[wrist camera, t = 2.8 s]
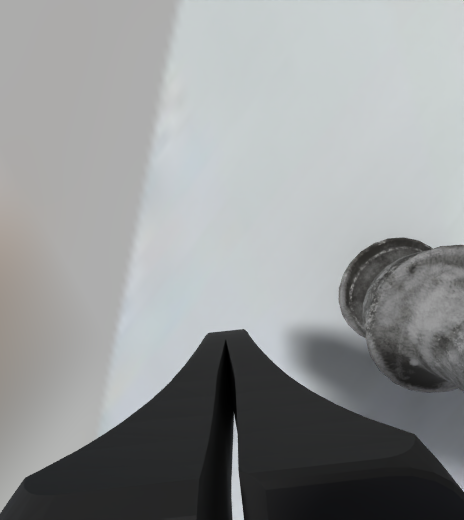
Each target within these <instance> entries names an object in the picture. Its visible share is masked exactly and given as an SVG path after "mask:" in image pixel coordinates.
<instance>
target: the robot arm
mask: <svg viewBox="0 0 464 520" xmlns="http://www.w3.org/2000/svg"><path fill="white" fill-rule="evenodd" d="M234 415H235V421H236V427H237V432H238V464H239V478H240V487H241V495H242V504H243V513H244V520H464V492H463V491H462V489H461V488H460V487H459V485H458V484H457V483H456V482H455V480H454V479H453V478H452V477H451V475H450V474H449V473H448V471H447V470H446V469H445V468H444V467H443V465H442V464H441V463H440V462H439V461H438V459H437V458H436V457H435V456H434V455H433V454H432V453H431V452H430V451H429V450H428V449H427V447H426V446H425V445H424V444H423V443H422V442H421V441H420V440H419V439H418V438H417V436H416V435H415V434H412V433H409V432H406V431H403V430H400V429H397V428H394V427H391V426H389V425H386V424H383V423H380V422H377V421H374V420H371V419H368V418H366V417H363V416H361V415H359V414H356V413H354V412H352V411H349V410H347V409H345V408H343V407H341V406H338V405H336V404H334V403H332V402H330V401H328V400H326V399H325V398H323V397H321V396H319V395H318V394H316V393H314V392H312V391H310V390H309V389H307V388H306V387H304V386H302V385H301V384H299V383H298V382H297V381H295V380H294V379H292V378H291V377H290V376H288V375H287V374H286V373H285V372H283V371H282V370H281V369H280V368H279V367H278V366H277V365H275V364H274V363H273V362H272V361H271V360H270V359H269V358H268V357H267V356H266V355H265V354H264V353H263V352H262V350H261V349H260V348H259V347H258V346H257V345H256V344H255V342H254V341H253V340H252V338H251V337H250V336H249V334H248V332H247V331H245V330H244V329H242V330H232V331H223V332H213V333H208V334H207V335H206V336H205V338H204V339H203V341H202V342H201V344H200V345H199V347H198V348H197V350H196V351H195V352H194V354H193V355H192V356H191V358H190V359H189V360H188V362H187V363H186V364H185V366H184V367H183V368H182V369H181V370H180V371H179V373H178V374H177V375H176V376H175V377H174V378H173V379H172V381H171V382H170V383H169V384H168V385H167V386H166V387H165V388H164V389H163V390H161V391H160V392H159V393H158V394H157V395H156V396H155V397H154V398H153V399H151V400H150V401H149V402H148V403H147V404H145V405H144V406H143V407H141V408H140V409H139V410H138V411H136V412H135V413H134V414H132V415H131V416H130V417H128V418H127V419H126V420H124V421H123V422H122V423H120V424H119V425H117V426H116V427H114V428H113V429H111V430H110V431H108V432H107V433H105V434H104V435H102V436H101V437H99V438H97V439H96V440H94V441H92V442H91V443H89V444H88V445H86V446H84V447H82V448H81V449H79V450H78V451H76V452H74V453H72V454H70V455H68V456H66V457H64V458H62V459H60V460H59V461H57V462H55V463H53V464H51V465H49V466H47V467H45V468H44V469H42V470H40V471H38V472H36V473H34V474H32V475H30V476H28V477H26V478H25V479H24V480H23V482H22V483H21V485H20V486H19V487H18V489H17V490H16V491H15V493H14V494H13V496H12V497H11V499H10V500H9V501H8V503H7V505H6V506H5V507H4V509H3V510H2V512H1V513H0V520H232V503H231V475H232V449H233V423H234Z"/></svg>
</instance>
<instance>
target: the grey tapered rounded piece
mask: <svg viewBox="0 0 464 520" xmlns="http://www.w3.org/2000/svg"><path fill="white" fill-rule="evenodd" d="M339 305H340V308H341V312H342V315H343V317H344V318H345V320H346V322H347V323H348V325H349V326H350V327H351V328H352V329H353V330H354V331H356V332H357V333H358V334H359V335H361V336H363V337H365V338H366V341H367V345H368V349H369V353H370V356H371V357H372V359H373V361H374V362H375V364H376V365H377V367H378V369H379V370H380V371H381V372H382V373H383V374H384V375H385V376H387V377H388V378H389V379H390V380H391V381H392V382H394V383H396V384H398V385H400V386H402V387H405V388H407V389H409V390H414V391H420V392H426V393H432V392H445V391H451V390H454V389H458V388H459V389H460V390H462V391H463V392H464V245H453V246H440V247H437V248H434V249H432V248H431V247H430V246H428V245H426V244H424V243H422V242H420V241H418V240H413V239H408V238H391V239H386V240H383V241H380V242H377V243H374V244H373V245H371V246H369V247H368V248H366V249H365V250H363V251H361V252H360V253H359V254H358V255H357V256H356V257H355V259H354V260H353V261H352V262H351V263H350V264H349V266H348V268H347V269H346V271H345V273H344V274H343V277H342V281H341V284H340V287H339Z"/></svg>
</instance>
